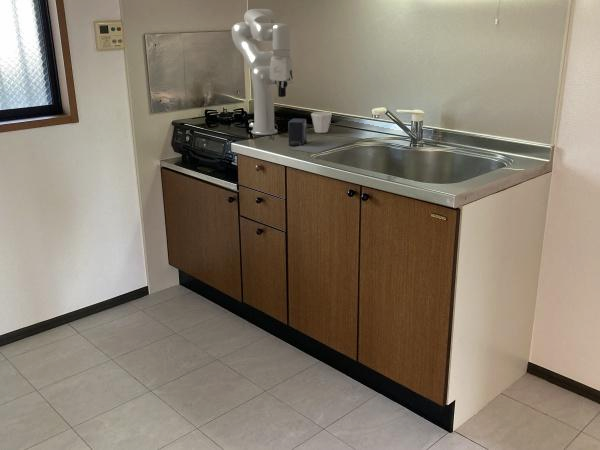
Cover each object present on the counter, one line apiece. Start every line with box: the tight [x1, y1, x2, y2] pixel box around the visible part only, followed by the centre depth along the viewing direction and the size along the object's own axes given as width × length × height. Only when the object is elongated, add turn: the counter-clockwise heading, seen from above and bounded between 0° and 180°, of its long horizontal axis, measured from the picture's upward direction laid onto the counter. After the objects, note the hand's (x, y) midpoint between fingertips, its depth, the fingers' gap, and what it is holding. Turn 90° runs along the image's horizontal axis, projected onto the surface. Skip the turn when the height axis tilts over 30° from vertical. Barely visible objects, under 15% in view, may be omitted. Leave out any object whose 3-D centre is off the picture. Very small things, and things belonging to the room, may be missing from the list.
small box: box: [287, 118, 307, 146], centre depth 278 cm, size 11×6×10 cm, turn 168°
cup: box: [310, 111, 333, 134], centre depth 303 cm, size 10×10×9 cm
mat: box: [290, 140, 346, 155], centre depth 273 cm, size 14×22×1 cm, turn 143°
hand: (282, 96), depth 278 cm, fingers closed
